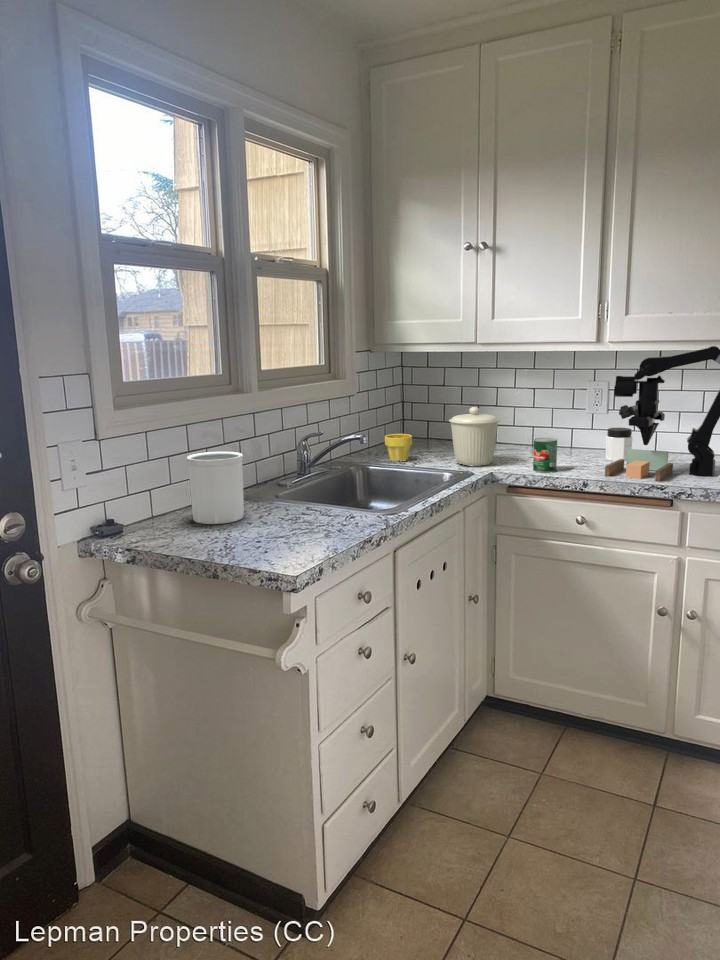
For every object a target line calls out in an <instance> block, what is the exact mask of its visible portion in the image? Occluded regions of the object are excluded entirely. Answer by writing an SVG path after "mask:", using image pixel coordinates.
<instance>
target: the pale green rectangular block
mask: <svg viewBox="0 0 720 960" xmlns="http://www.w3.org/2000/svg"><path fill="white" fill-rule="evenodd" d="M633 461H647V462H650V465H649V471H655V472H656V470H658V469H660V468H661V467H663V466H665V465H667V464H668V463H669V451H665V450H653V449H641V448H640V449H639V448H638V449H637V448H632V449H627V460H626V465H627V464H629V463H631V462H633Z"/></svg>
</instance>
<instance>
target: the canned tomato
mask: <svg viewBox="0 0 720 960" xmlns="http://www.w3.org/2000/svg"><path fill="white" fill-rule="evenodd" d="M557 457H558V439H557V438H554V437H537V438H533V459H532V461H533V463H532V465H533V466H532V467H533V468H532V471H533V472H534V471H535V473H539V474H540V473H541V474H546V473H547V474H551V472H552V473H555V471H556V472H557V461H558V460H557V459H558V458H557Z"/></svg>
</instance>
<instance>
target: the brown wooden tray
mask: <svg viewBox="0 0 720 960" xmlns="http://www.w3.org/2000/svg"><path fill="white" fill-rule="evenodd" d="M604 467H605V468H604V470H605V471H604V477H605V478H606V477H607V478H609V477H612V476H613V475H615V474H617V473H619V472H621V471H622V470H624V469H625V461H624V459H619V460H617V461H616V460H614V462H610V464H607V465H605V466H604ZM673 472H674V463H673V462H668V464H667V465H665V466H663V467H661V468H660V469H658V470H656V471H655V477H654V478H655V479H654V481H655V482H658V483H659V482H661V481H663V480H664V479H666V478H667V477H669V476H671V475H673Z"/></svg>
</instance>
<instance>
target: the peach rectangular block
mask: <svg viewBox="0 0 720 960" xmlns="http://www.w3.org/2000/svg"><path fill="white" fill-rule="evenodd" d="M649 465H650V462H647V461H633V462H631V463H629V464H627V463H626V465H625V478H628V479H638V480H642V479H643V478H644V477H646V476H648V475H649V474H650V470H649Z"/></svg>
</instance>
